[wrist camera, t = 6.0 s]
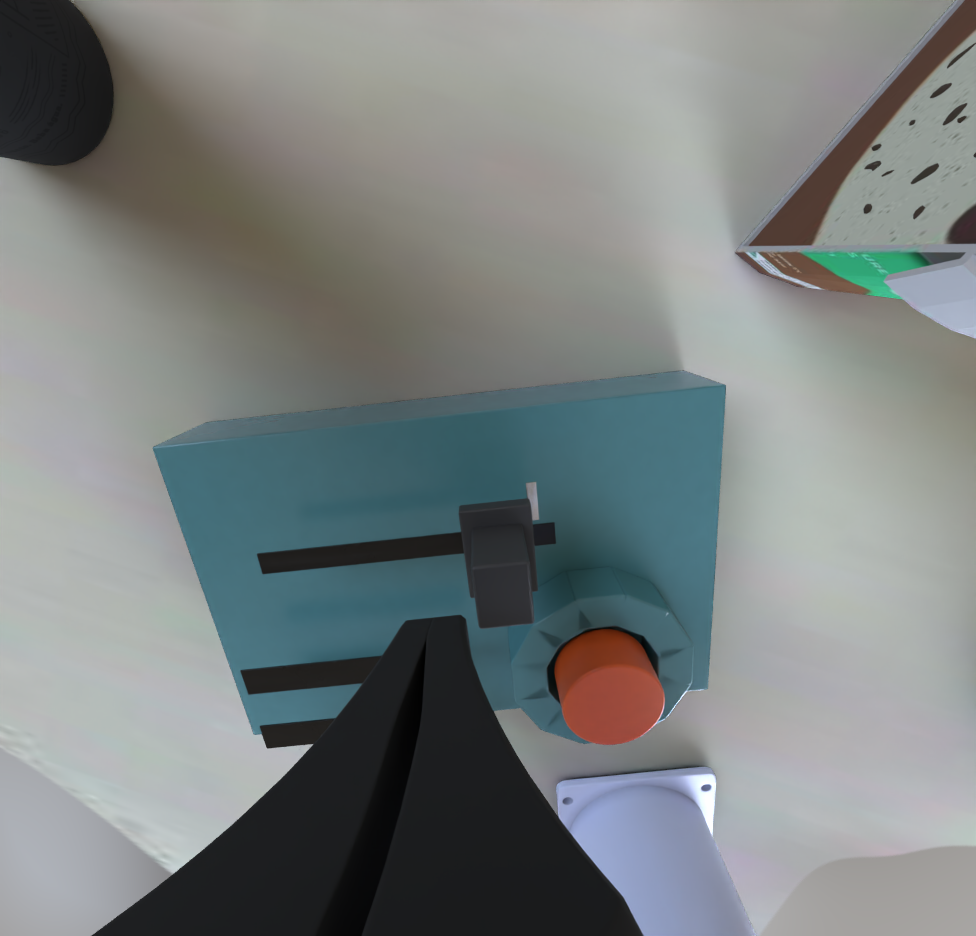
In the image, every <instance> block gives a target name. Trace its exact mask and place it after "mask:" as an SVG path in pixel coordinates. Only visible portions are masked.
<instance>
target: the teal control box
mask: <svg viewBox="0 0 976 936" xmlns="http://www.w3.org/2000/svg"><path fill="white" fill-rule="evenodd" d="M725 395H726V385H724V384H721V383H719V382H716V381H713V380H710V379H707V378H704V377H701V376H698V375H696V374H693V373H690V372H687V371H684V370H683V371H673V372H664V373H655V374H646V375H637V376H627V377H618V378H609V379H600V380H591V381H582V382H572V383H563V384H554V385H545V386H536V387H526V388H517V389H508V390H499V391H490V392H481V393H471V394H462V395H453V396H444V397H435V398H426V399H416V400H407V401H398V402H389V403H380V404H370V405H361V406H352V407H343V408H334V409H325V410H315V411H306V412H297V413H288V414H279V415H269V416H260V417H251V418H242V419H233V420H224V421H214V422H206V423H204V424H202V425H199V426H197V427H195V428H193V429H191V430H189V431H186V432H184V433H182V434H180V435H178V436H175V437H173V438H171V439H169V440H167V441H165V442H162V443H160V444H158V445H156V446H154V447H153V451H154V454H155V456H156V459H157V462H158V465H159V468H160V471H161V473H162V476H163V479H164V482H165V485H166V487H167V490H168V493H169V496H170V499H171V502H172V504H173V507H174V510H175V513H176V516H177V519H178V521H179V524H180V527H181V530H182V533H183V536H184V538H185V541H186V544H187V547H188V550H189V553H190V555H191V558H192V561H193V564H194V567H195V570H196V572H197V575H198V578H199V581H200V584H201V586H202V589H203V592H204V595H205V598H206V601H207V603H208V606H209V609H210V612H211V615H212V618H213V620H214V623H215V626H216V629H217V632H218V635H219V637H220V640H221V643H222V646H223V649H224V652H225V654H226V657H227V660H228V663H229V666H230V669H231V671H232V674H233V677H234V680H235V683H236V686H237V688H238V691H239V694H240V697H241V700H242V702H243V705H244V708H245V711H246V714H247V717H248V719H249V722H250V725H251V728H252V731H253V734H254V735H257V734H262V733H261V730H260V725H270V724H280V723H290V722H300V721H310V720H320V719H330V718H336V717H337V716H338V714H339V713H340V712H341V711H342V709H343V708H344V707H345V706H346V704H347V703H348V702H349V701H350V699H351V698H352V697H353V696H354V694H355V693H356V692H357V690H358V689H359V687H360V686H361V685H362V683H361V684H351V685H341V686H331V687H322V688H312V689H302V690H292V691H282V692H272V693H262V694H252V695H248V692H247V689H246V686H245V684H244V681H243V678H242V675H241V672H240V671H241V670H244V669H254V668H264V667H274V666H284V665H293V664H303V663H313V662H323V661H333V660H342V659H352V658H362V657H372V656H382V655H383V653H384V652H385V650H386V649H387V647H388V646H389V644H390V643H391V641H392V640H393V638H394V637H395V635H396V634H397V632H398V630H399V629H400V627H401V626H402V624H403V623H404V622H405V621H406V620H414V619H424V618H433V617H443V616H453V615H462V616H463V617H464V618H466V621H467V628H468V635H469V642H470V649H471V656H472V660H473V663H474V666H475V668H476V671H477V674H478V676H479V679H480V682H481V684H482V687H483V689H484V692H485V694H486V696H487V698H488V701H489V703H490V705H491V707H492V709H493V711H497V710H507V709H517V708H521V709H522V710H523V711H524V712H525V713H526V714H527V715H528V716H529V717H530V718H531V720H532V721H533V722H534V723H535V724H536V725H537V726H538V727H539V728H540V729H541V730H543V731H545V732H548V733H551V734H554V735H557V736H560V737H563V738H566V739H570V740H573V741H576V742H579V743H583V744H587V743H592V742H589V741H586V740H584V739H582V738H580V737H579V736H577V735H576V734H575V733H574V732H573V731H572V730H571V729H570V728H569V727H568V725H567V724H566V722H565V720H564V717H563V713H562V708H561V704H560V699H559V694H558V689H557V684H556V680H555V674H554V668H555V663H556V660H557V657H558V655H559V653H560V651H561V650H562V649H563V647H564V646H565V645H566V644H567V643H568V642H569V641H571V640H572V639H573V638H575V637H576V636H578V635H580V634H583V633H585V632H588V631H592V630H597V629H613V630H618V631H622V632H624V633H627V634H629V635H630V636H632V637H633V638H635V639H636V640H637V641H638V642H639V643H640V644H641V645H642V647H643V648H644V650H645V652H646V654H647V656H648V658H649V660H650V662H651V664H652V667H653V669H654V671H655V673H656V675H657V677H658V679H659V681H660V683H661V685H662V688H663V690H664V695H665V704H664V709H663V713H662V715H661V717H660V719H659V720H658V722H657V723H659V722H661V721H662V720H664V719H666V717H668V716H669V715H670V713H671V712H672V711H673V709H674V708H675V706H676V705H677V704H678V702H679V701H680V700H681V698H682V697H683V695H684V694H685V693H686V691H696V690H706V689H708V677H709V661H710V644H711V628H712V611H713V594H714V578H715V561H716V545H717V528H718V511H719V495H720V478H721V462H722V445H723V428H724V412H725ZM534 481H536V486H537V499H538V512H539V520H533V524H541V523H550V522H555V536H556V544H549V545H539V546H535V557H536V569H537V582H538V591H536V592H532V594H533V606H534V618H535V620H534V623H533V624H527V625H517V626H507V627H498V628H488V629H480V627H479V626H478V619H477V611H476V604H475V598H471V597H470V593H469V586H468V579H467V571H466V564H465V557H464V553H463V554H453V555H444V556H434V557H425V558H415V559H405V560H396V561H386V562H377V563H367V564H358V565H348V566H339V567H329V568H319V569H310V570H300V571H291V572H281V573H272V574H262V571H261V567H260V564H259V561H258V557H257V553H265V552H274V551H284V550H293V549H303V548H312V547H322V546H331V545H341V544H350V543H360V542H369V541H379V540H388V539H398V538H407V537H417V536H426V535H436V534H445V533H455V532H461V528H460V521H459V506H460V505H468V504H478V503H487V502H497V501H506V500H516V499H525V498H527V493H526V482H534ZM657 723H656V724H657Z"/></svg>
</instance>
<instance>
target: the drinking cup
mask: <svg viewBox="0 0 976 936" xmlns="http://www.w3.org/2000/svg"><path fill="white" fill-rule="evenodd" d="M112 108H113V86H112V79H111V74H110V70H109V66H108V62H107V59H106V56H105V54H104V51H103V49H102V47H101V44H100V42H99V40H98V38H97V37H96V35H95V33H94V31H93V30H92V28H91V26H90V25H89V23H88V22H87V20H86V19H85V18H84V17H83V15H82V14H81V13H80V11H79V10H78V9H77V8H76V7H75V6H74V5H73V4H72V3H71V2H70V1H69V0H0V157H5V158H10V159H15V160H21V161H26V162H31V163H36V164H43V165H63V164H68V163H71V162H74V161H77V160H79V159H81V158H83V157H84V156H86V155H87V154H89V153H90V152H91V151H92V150H93V149H94V148H95V147H96V146H97V145H98V144H99V143H100V141H101V140H102V138H103V136H104V135H105V133H106V131H107V128H108V126H109V122H110V119H111V114H112Z"/></svg>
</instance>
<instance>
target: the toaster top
mask: <svg viewBox="0 0 976 936" xmlns="http://www.w3.org/2000/svg"><path fill="white" fill-rule="evenodd" d="M526 493H527V498H529V499H530V503H531V508H532V520H539V512H538V499H537V486H536V481H534V482H526ZM533 533H534V545H535V546H539V545H549V544H556V536H555V522H550V523H541V524H533ZM463 553H464V550H463V542H462V535H461V532H455V533H445V534H436V535H426V536H417V537H407V538H398V539H388V540H379V541H369V542H360V543H350V544H341V545H331V546H322V547H312V548H303V549H293V550H284V551H274V552H265V553H257V557H258V561H259V564H260V567H261V571H262V574H272V573H281V572H291V571H300V570H310V569H319V568H329V567H339V566H348V565H358V564H367V563H377V562H386V561H396V560H405V559H415V558H425V557H434V556H444V555H453V554H463ZM380 658H381V656H372V657H362V658H352V659H342V660H333V661H323V662H313V663H303V664H293V665H284V666H274V667H264V668H254V669H244V670H241V671H240V672H241V675H242V678H243V681H244V684H245V686H246V689H247V692H248V695H252V694H262V693H272V692H282V691H292V690H302V689H312V688H322V687H331V686H341V685H351V684H361V683H363V682H364V680H365V679H366V678H367V676H368V675H369V674H370V672H371V671H372V669H373V668H374V667H375V665H376V664H377V662H378V661H379V659H380ZM334 719H335V718H330V719H320V720H310V721H300V722H290V723H280V724H270V725H260V730H261V733H262V736H263V739H264V741H265V744H266V747H267V748H277V747H287V746H297V745H307V744H314V743H315V742H316V741H317V740H318V739H319V737H320V736H321V735H322V734H323V733H324V732H325V730H326V729H327V728H328V727H329V726H330V724H331V723H332V722H333V721H334Z"/></svg>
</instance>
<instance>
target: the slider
mask: <svg viewBox="0 0 976 936" xmlns="http://www.w3.org/2000/svg"><path fill="white" fill-rule="evenodd" d="M459 521H460V528H461V535H462V542H463V550H464V557H465V564H466V571H467V579H468V586H469V593H470V597H471V598H475V604H476V611H477V619H478V626H479V627H480V629H488V628H498V627H507V626H517V625H527V624H533V623H534V620H535V618H534V606H533V594H532V592H536V591H538V582H537V569H536V557H535V545H534V533H533V520H532V508H531V503H530V499H529V498H525V499H516V500H506V501H497V502H487V503H478V504H468V505H460V506H459Z"/></svg>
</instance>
